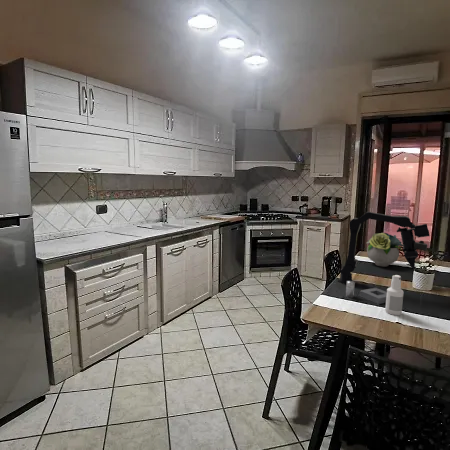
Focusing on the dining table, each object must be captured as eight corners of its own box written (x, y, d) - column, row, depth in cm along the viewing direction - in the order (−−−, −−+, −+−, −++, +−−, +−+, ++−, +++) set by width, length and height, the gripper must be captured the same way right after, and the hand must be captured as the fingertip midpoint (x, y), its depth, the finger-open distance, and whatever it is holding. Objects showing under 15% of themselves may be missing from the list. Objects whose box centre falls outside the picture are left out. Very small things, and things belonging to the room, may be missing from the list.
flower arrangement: (367, 259, 247) (369, 229, 244) (402, 264, 233) (406, 232, 229) (359, 266, 227) (362, 233, 224) (398, 272, 213) (401, 237, 209)
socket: (359, 295, 168) (359, 290, 168) (375, 292, 173) (375, 287, 173) (378, 304, 157) (378, 298, 157) (394, 300, 162) (395, 295, 162)
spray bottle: (395, 316, 143) (399, 278, 140) (382, 311, 149) (385, 274, 146) (404, 313, 146) (408, 276, 144) (391, 308, 152) (394, 273, 150)
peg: (344, 295, 169) (345, 281, 168) (349, 294, 171) (350, 280, 170) (349, 297, 166) (350, 283, 164) (355, 296, 167) (356, 282, 166)
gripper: (426, 239, 159) (432, 269, 160) (423, 234, 176) (427, 261, 176) (402, 242, 165) (407, 271, 165) (400, 237, 181) (405, 263, 182)
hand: (412, 266), depth 172 cm, fingers open, 9 cm apart
